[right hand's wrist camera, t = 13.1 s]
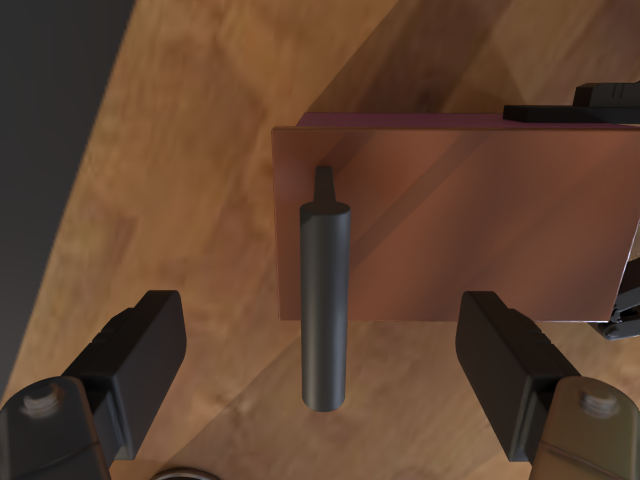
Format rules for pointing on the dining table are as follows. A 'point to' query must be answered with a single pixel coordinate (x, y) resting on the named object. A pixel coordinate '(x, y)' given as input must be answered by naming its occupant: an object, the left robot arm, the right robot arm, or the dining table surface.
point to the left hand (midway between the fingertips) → (498, 205)
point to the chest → (431, 121)
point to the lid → (445, 228)
